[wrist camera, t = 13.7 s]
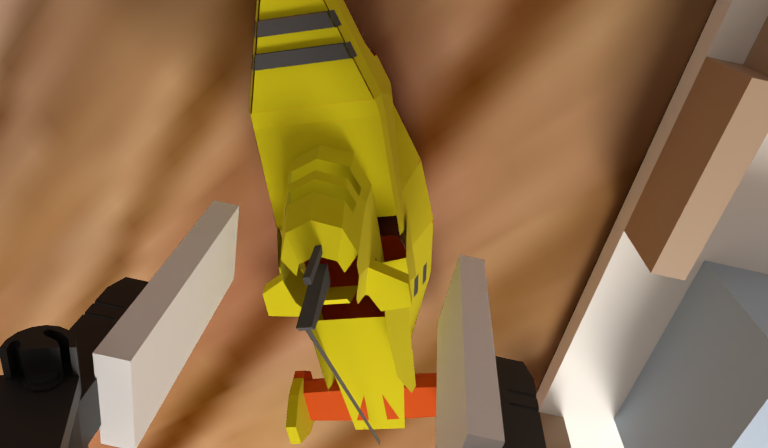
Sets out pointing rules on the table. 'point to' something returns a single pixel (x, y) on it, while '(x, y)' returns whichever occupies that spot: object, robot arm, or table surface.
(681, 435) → the block
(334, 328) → the toy boat
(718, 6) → the jig
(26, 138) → the table surface
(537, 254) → the table surface
